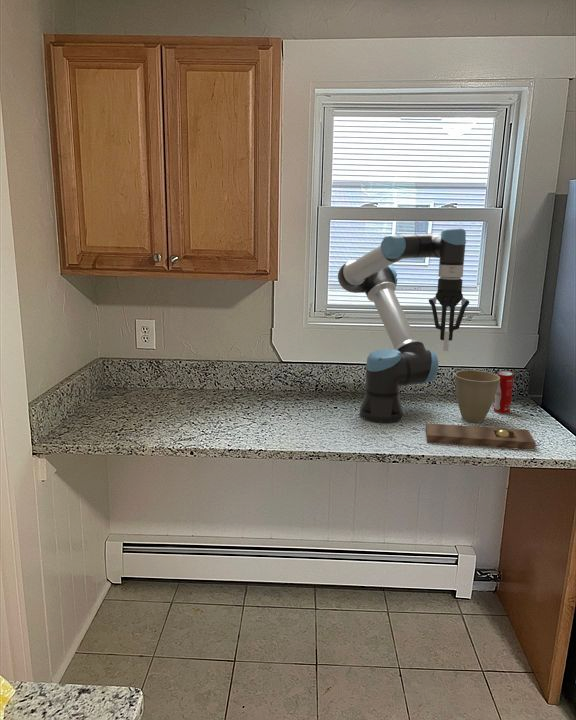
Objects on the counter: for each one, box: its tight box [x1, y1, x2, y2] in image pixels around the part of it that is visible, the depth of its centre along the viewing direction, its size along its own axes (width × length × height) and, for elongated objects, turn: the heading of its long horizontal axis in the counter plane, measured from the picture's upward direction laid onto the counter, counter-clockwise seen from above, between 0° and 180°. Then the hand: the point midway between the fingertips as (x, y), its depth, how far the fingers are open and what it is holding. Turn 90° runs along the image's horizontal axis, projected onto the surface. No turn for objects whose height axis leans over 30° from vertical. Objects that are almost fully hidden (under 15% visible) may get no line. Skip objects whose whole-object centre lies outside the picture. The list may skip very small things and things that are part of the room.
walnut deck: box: [425, 422, 536, 450], centre depth 184 cm, size 32×11×2 cm, turn 79°
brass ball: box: [496, 429, 509, 438], centre depth 182 cm, size 4×4×4 cm
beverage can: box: [493, 370, 515, 415], centre depth 209 cm, size 6×6×15 cm
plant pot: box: [454, 369, 500, 424], centre depth 201 cm, size 15×15×16 cm
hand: (445, 349), depth 190 cm, fingers closed
